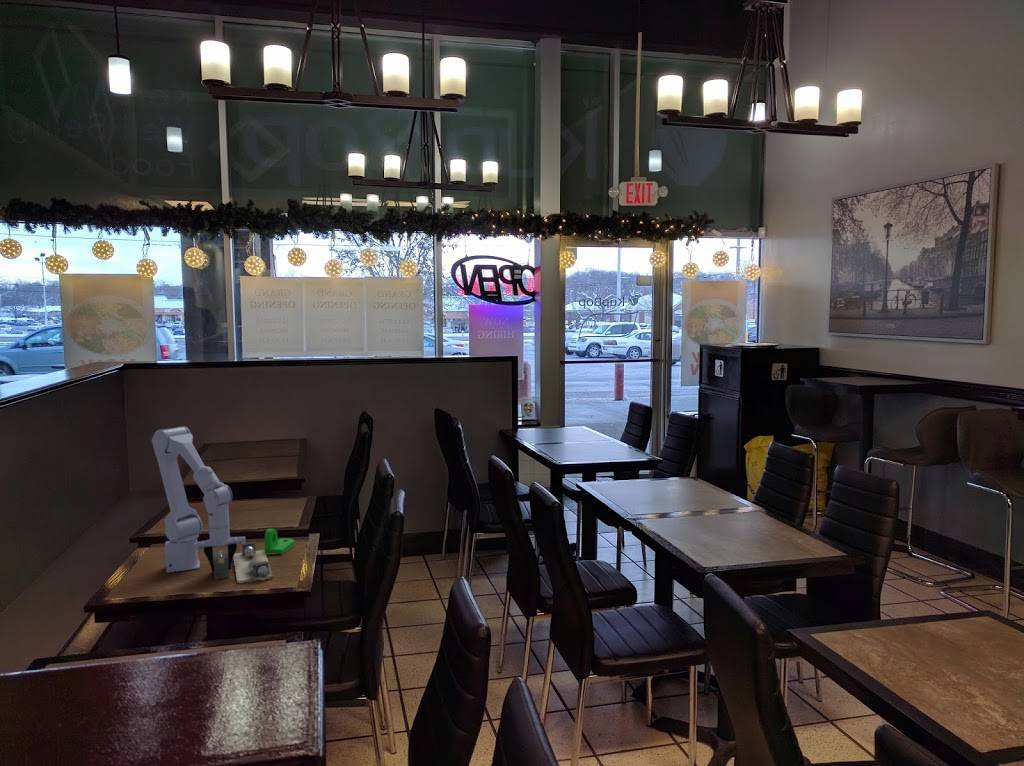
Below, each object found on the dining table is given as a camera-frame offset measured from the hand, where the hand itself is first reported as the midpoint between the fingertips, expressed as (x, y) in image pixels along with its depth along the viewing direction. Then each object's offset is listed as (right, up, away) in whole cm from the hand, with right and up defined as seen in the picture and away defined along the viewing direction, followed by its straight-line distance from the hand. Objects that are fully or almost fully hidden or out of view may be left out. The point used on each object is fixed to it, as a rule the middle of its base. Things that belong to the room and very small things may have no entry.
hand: (221, 569), depth 226 cm
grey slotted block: (0, -1, 0) cm, 2 cm away
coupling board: (+7, -1, +6) cm, 10 cm away
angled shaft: (+12, -2, -2) cm, 13 cm away
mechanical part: (+11, 0, +25) cm, 27 cm away
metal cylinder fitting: (+3, 0, +16) cm, 16 cm away
